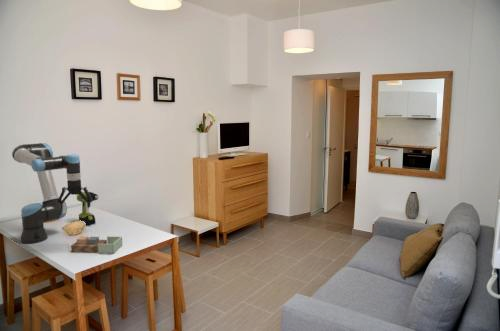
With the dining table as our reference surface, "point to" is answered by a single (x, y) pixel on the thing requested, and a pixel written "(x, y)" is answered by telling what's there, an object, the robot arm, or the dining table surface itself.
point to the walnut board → (87, 247)
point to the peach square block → (82, 240)
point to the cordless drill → (84, 216)
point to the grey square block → (92, 240)
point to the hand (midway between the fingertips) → (76, 212)
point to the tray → (110, 245)
